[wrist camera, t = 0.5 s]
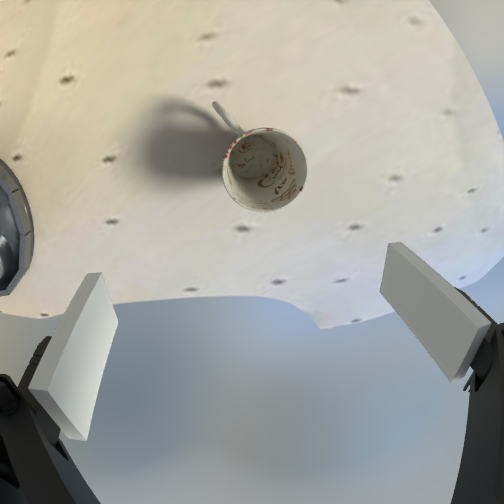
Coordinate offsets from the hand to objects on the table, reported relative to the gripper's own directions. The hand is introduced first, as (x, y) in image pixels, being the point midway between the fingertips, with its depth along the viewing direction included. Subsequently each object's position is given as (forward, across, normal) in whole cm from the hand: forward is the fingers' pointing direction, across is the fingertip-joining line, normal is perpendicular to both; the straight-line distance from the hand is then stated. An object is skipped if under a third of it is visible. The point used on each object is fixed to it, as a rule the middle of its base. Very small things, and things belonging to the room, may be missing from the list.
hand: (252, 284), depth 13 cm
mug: (+27, +3, +3) cm, 28 cm away
